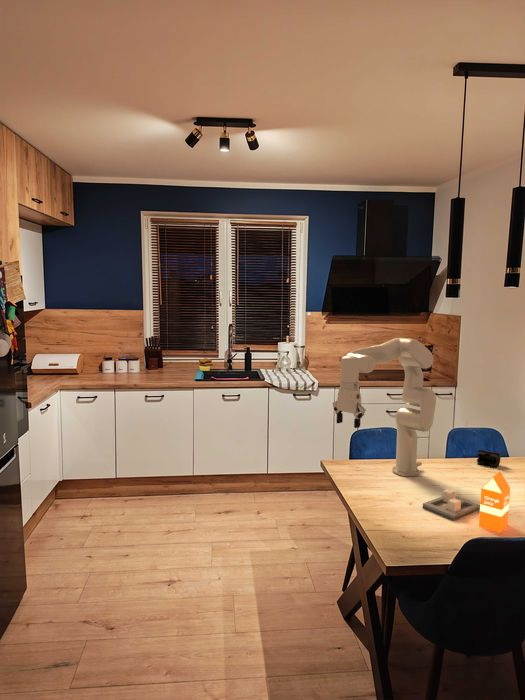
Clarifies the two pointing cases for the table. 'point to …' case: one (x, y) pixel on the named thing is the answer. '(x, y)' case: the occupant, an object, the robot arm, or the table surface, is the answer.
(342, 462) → the table surface
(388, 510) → the table surface
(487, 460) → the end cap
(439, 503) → the switch board
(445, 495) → the tab
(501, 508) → the orange juice
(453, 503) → the tab
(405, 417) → the robot arm
